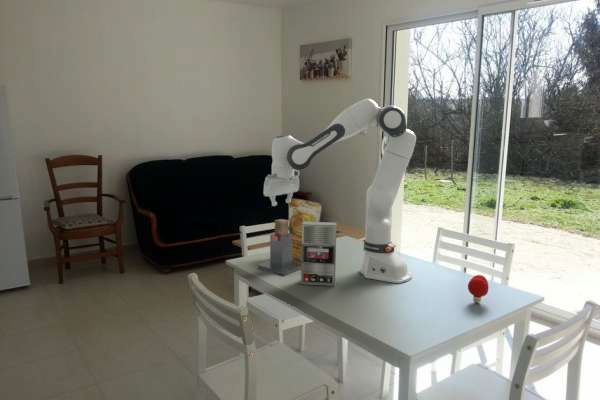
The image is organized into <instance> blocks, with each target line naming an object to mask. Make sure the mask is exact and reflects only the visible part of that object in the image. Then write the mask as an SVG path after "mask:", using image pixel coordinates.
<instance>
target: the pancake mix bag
mask: <svg viewBox="0 0 600 400" xmlns="http://www.w3.org/2000/svg"><path fill="white" fill-rule="evenodd" d="M322 212H323V204H321V202H316V201H311V200H305V199H299V198H293V197H292V198H291V203H288V233H290V234H293V242H292V259H293V258H294V259H297V260H301V259H302V223H303V221H306V222H321V215H322Z"/></svg>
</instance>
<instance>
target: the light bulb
mask: <svg viewBox="0 0 600 400" xmlns="http://www.w3.org/2000/svg"><path fill="white" fill-rule="evenodd" d="M467 289H468V292H469V293H470V294H471V295H472V297H473V299H472V301H473V302H474V303H475V302H476V303H475V304H479V303H480V302H482V297H485V296H486V295H487V294H488V293H489V282H488V280H487V278H486V277H485V276H484V275H481V274H477V275H474V276H472V278H471V279H470V280H469V282H468V283H467Z"/></svg>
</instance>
